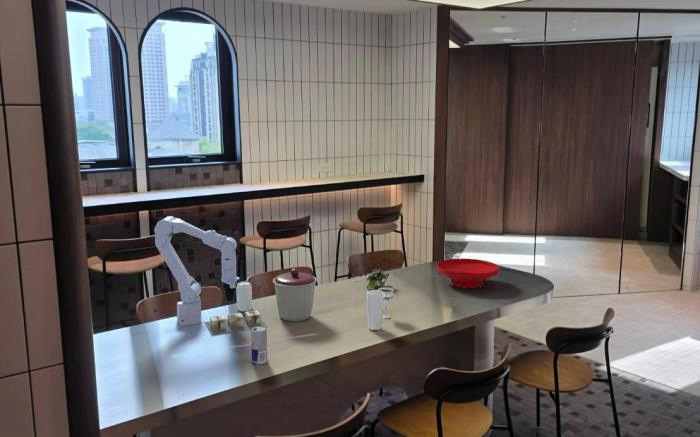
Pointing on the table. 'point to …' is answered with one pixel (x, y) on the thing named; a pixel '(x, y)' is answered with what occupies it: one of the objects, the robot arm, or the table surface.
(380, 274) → the green leafy plant
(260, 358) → the energy drink
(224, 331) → the mat
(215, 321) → the beige square block
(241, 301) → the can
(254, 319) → the block numbered 7
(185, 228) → the robot arm
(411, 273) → the table surface
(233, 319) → the plain block
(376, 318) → the drinking glass
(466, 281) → the bowl
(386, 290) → the wineglass
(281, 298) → the canister
